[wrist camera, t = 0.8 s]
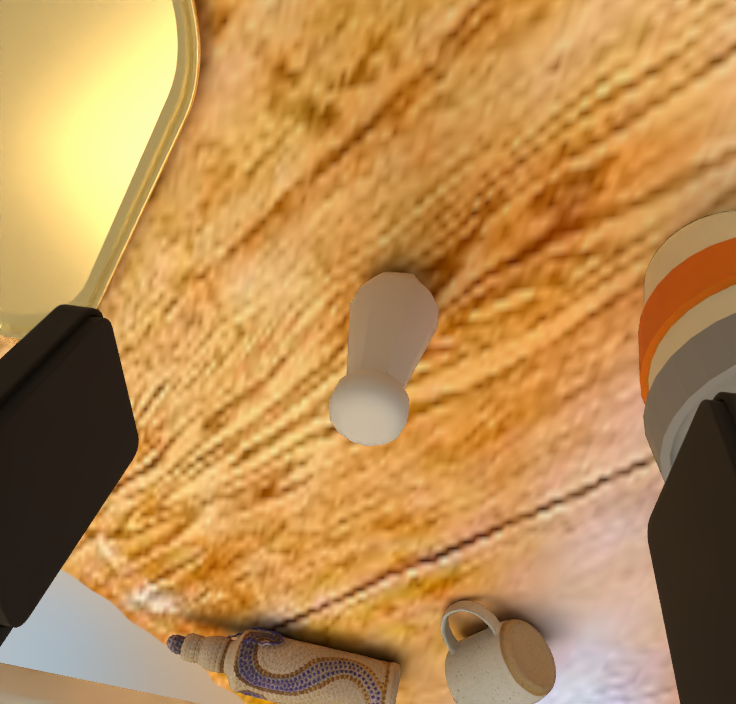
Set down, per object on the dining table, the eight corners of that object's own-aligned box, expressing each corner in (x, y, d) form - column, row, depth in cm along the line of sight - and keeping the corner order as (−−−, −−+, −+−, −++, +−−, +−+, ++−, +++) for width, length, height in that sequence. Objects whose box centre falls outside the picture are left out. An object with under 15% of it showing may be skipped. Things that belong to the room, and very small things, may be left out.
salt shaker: (356, 255, 43) (307, 374, 33) (443, 260, 42) (420, 385, 32) (358, 328, 47) (315, 457, 36) (439, 335, 46) (417, 469, 35)
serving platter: (266, -37, 34) (256, -33, 33) (74, 368, 54) (64, 379, 53) (-79, -301, 30) (-105, -309, 29) (-149, 239, 50) (-166, 248, 49)
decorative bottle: (406, 649, 70) (398, 713, 65) (397, 683, 75) (388, 745, 69) (176, 595, 72) (149, 653, 67) (180, 632, 77) (156, 688, 71)
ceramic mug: (560, 636, 64) (564, 716, 57) (502, 664, 68) (500, 741, 62) (477, 582, 61) (472, 660, 55) (423, 615, 66) (413, 689, 60)
